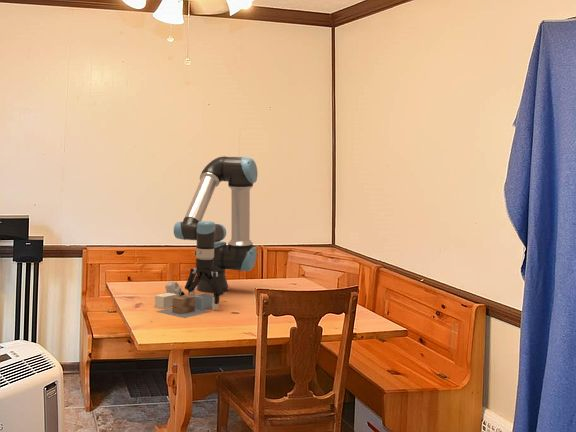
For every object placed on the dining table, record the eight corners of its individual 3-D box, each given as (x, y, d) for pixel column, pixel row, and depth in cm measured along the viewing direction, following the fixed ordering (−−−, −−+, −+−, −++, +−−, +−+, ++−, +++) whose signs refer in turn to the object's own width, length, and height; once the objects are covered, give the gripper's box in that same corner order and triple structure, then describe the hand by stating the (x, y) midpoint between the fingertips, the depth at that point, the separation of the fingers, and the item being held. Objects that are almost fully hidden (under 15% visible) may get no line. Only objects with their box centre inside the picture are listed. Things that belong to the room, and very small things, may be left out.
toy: (157, 288, 296) (170, 274, 310) (163, 313, 299) (176, 298, 313) (170, 287, 294) (183, 273, 308) (176, 312, 298) (189, 297, 312)
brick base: (185, 309, 288) (186, 294, 287) (194, 311, 285) (195, 296, 284) (172, 312, 281) (172, 297, 281) (181, 314, 278) (181, 299, 278)
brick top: (205, 307, 298) (205, 293, 297) (214, 309, 295) (214, 295, 294) (192, 310, 291) (192, 296, 291) (201, 312, 288) (201, 297, 288)
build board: (182, 307, 294) (182, 305, 294) (211, 314, 285) (211, 311, 285) (155, 313, 281) (155, 311, 281) (184, 320, 272) (184, 318, 272)
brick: (168, 306, 296) (168, 292, 296) (176, 308, 293) (177, 294, 293) (154, 309, 290) (155, 295, 289) (163, 311, 287) (163, 297, 286)
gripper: (177, 255, 295) (175, 305, 297) (221, 262, 281) (219, 315, 283) (189, 254, 301) (187, 303, 303) (233, 260, 287) (231, 312, 289)
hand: (203, 309), depth 293 cm, fingers open, 12 cm apart
